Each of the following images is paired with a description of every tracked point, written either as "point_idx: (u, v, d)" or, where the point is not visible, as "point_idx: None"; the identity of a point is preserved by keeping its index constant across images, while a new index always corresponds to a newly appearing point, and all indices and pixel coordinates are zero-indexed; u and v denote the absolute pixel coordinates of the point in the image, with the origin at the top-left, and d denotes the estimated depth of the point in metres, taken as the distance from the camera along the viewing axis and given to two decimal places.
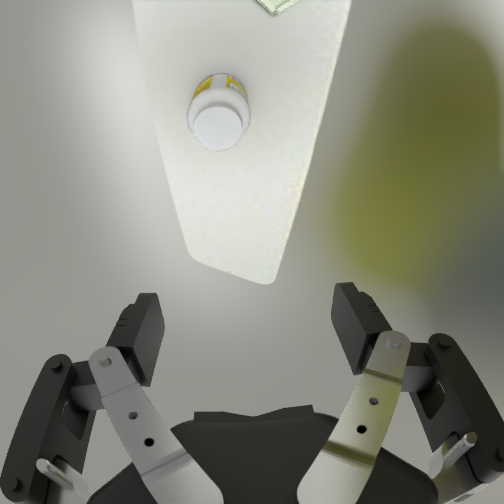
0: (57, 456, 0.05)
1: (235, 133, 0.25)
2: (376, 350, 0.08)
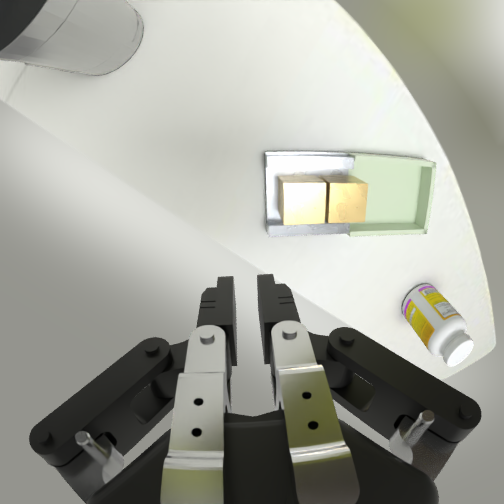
0: None
1: (470, 346, 0.27)
2: (276, 346, 0.09)
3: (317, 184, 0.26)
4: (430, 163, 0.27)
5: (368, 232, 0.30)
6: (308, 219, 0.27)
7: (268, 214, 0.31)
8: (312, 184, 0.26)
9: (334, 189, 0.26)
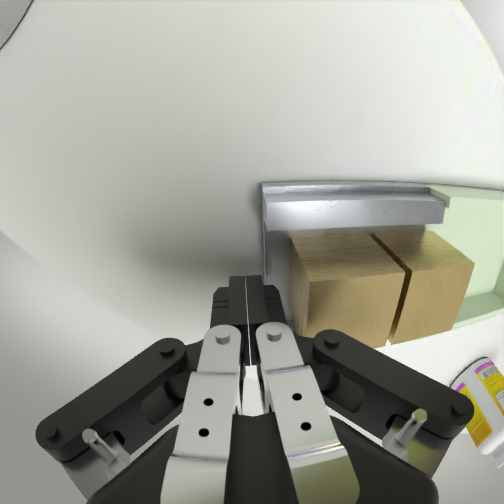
0: (117, 429, 0.07)
1: None
2: (262, 348, 0.08)
3: (387, 277, 0.10)
4: None
5: None
6: None
7: None
8: (376, 278, 0.10)
9: (417, 284, 0.10)
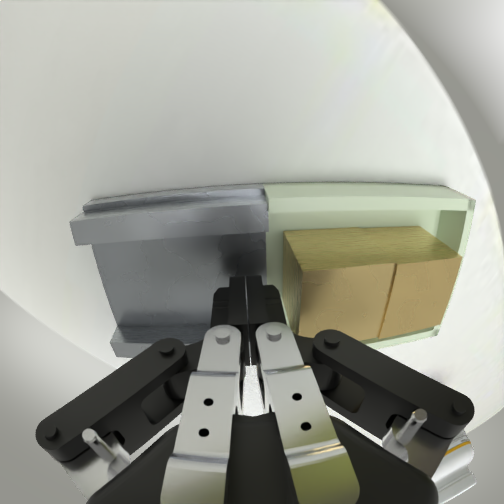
0: (117, 429, 0.07)
1: (471, 486, 0.11)
2: (262, 348, 0.08)
3: (378, 267, 0.10)
4: (464, 202, 0.11)
5: None
6: (349, 335, 0.12)
7: (116, 315, 0.15)
8: (368, 268, 0.10)
9: (403, 277, 0.11)
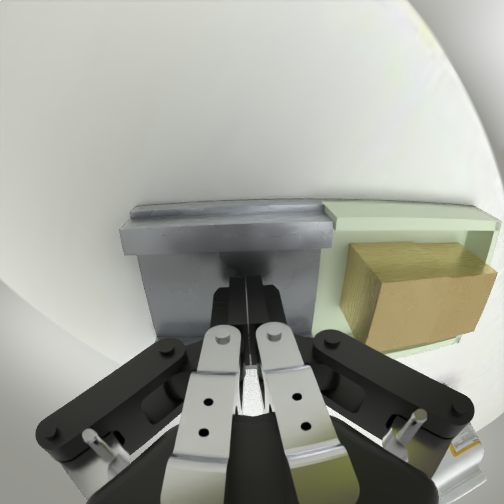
0: (117, 429, 0.07)
1: None
2: (262, 348, 0.08)
3: (438, 280, 0.11)
4: (492, 223, 0.12)
5: None
6: (406, 340, 0.12)
7: (156, 326, 0.15)
8: (431, 280, 0.11)
9: (453, 289, 0.11)
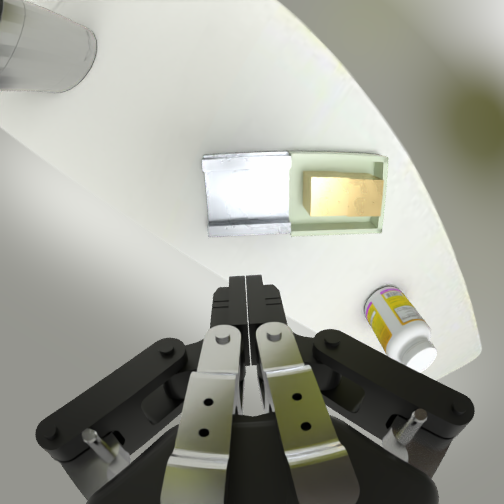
0: (117, 429, 0.07)
1: (433, 354, 0.27)
2: (262, 348, 0.08)
3: (341, 178, 0.27)
4: (380, 158, 0.28)
5: (311, 232, 0.31)
6: (332, 211, 0.28)
7: (209, 215, 0.32)
8: (337, 178, 0.27)
9: (353, 185, 0.27)
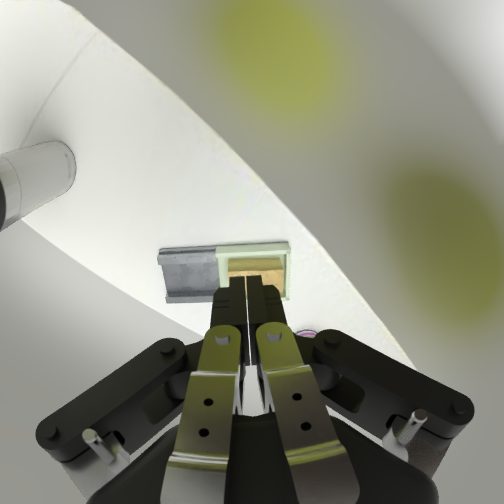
0: (117, 429, 0.07)
1: None
2: (262, 348, 0.08)
3: (249, 271, 0.41)
4: (284, 251, 0.42)
5: None
6: None
7: (167, 288, 0.46)
8: (246, 271, 0.41)
9: None
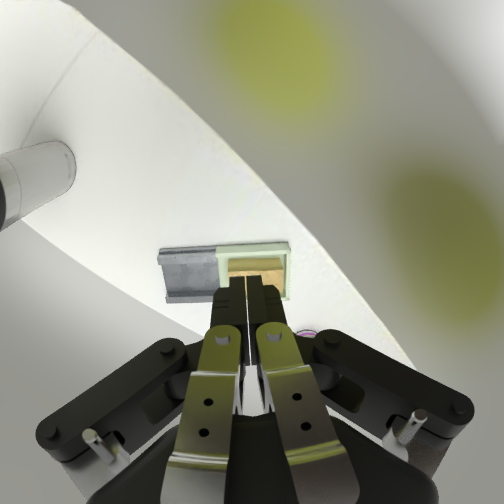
0: (117, 429, 0.07)
1: None
2: (262, 348, 0.08)
3: (249, 271, 0.41)
4: (284, 251, 0.42)
5: None
6: None
7: (167, 288, 0.46)
8: (246, 271, 0.41)
9: None
